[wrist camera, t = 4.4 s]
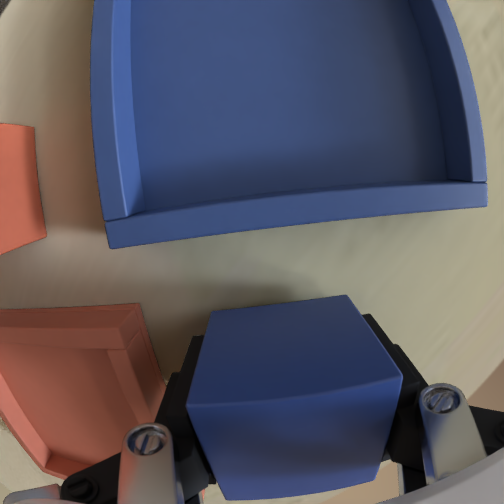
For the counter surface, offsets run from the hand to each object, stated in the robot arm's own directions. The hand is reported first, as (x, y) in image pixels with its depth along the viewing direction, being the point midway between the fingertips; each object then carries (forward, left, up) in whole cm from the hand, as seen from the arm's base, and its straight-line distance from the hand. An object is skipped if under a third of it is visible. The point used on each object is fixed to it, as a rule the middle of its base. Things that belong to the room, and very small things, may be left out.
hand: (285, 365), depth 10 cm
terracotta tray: (+3, -11, -1) cm, 11 cm away
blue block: (0, 0, 0) cm, 0 cm away
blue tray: (-11, +1, -1) cm, 11 cm away
